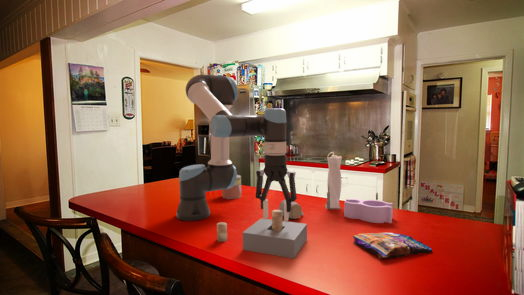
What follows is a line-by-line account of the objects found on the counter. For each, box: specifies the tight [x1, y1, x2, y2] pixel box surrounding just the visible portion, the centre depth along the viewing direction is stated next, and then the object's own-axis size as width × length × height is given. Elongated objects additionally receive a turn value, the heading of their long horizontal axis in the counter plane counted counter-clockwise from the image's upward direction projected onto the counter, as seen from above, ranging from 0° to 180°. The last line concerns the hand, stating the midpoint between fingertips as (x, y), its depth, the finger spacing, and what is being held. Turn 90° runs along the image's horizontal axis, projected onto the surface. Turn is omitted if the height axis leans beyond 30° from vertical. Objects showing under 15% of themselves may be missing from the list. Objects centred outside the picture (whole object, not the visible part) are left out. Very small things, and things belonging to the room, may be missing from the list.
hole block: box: [242, 217, 308, 259], centre depth 103 cm, size 18×16×6 cm
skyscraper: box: [324, 151, 343, 210], centre depth 149 cm, size 8×8×28 cm
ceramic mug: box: [278, 199, 304, 220], centre depth 134 cm, size 11×8×8 cm
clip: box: [343, 198, 394, 224], centre depth 132 cm, size 20×12×7 cm, turn 64°
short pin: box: [216, 221, 228, 243], centre depth 108 cm, size 4×4×6 cm
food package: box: [352, 232, 433, 259], centre depth 101 cm, size 22×25×4 cm
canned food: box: [221, 174, 242, 200], centre depth 173 cm, size 11×11×12 cm
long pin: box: [271, 209, 283, 232], centre depth 103 cm, size 4×4×12 cm
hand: (275, 219), depth 103 cm, fingers open, 7 cm apart
